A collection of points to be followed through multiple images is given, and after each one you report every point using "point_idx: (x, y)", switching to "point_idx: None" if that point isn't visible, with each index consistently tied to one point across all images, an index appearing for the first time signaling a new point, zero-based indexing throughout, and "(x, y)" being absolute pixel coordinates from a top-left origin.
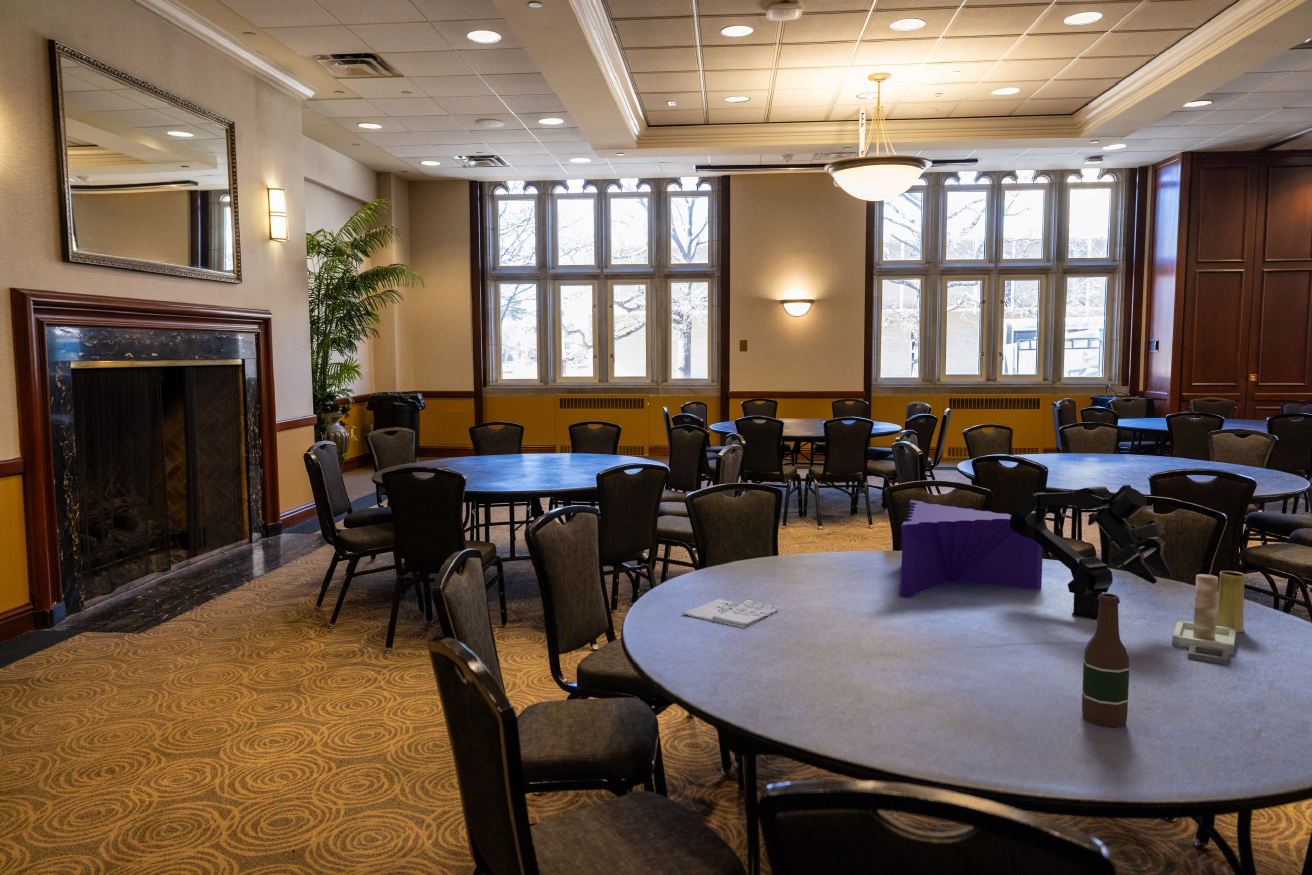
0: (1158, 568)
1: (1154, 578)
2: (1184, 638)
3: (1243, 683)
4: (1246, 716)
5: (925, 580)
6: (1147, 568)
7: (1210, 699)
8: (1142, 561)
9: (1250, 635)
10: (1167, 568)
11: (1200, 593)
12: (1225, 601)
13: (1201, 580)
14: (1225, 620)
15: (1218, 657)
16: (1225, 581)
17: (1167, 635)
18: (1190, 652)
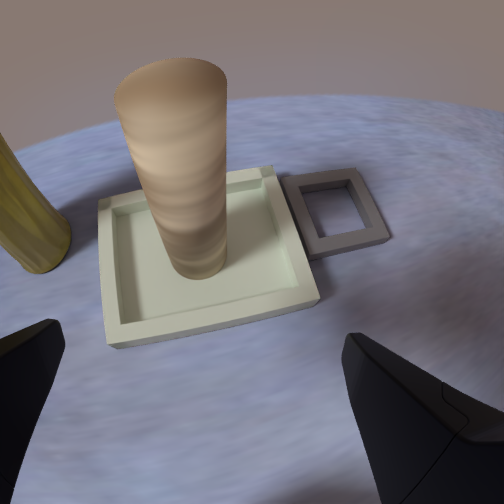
0: (26, 414)
1: (374, 342)
2: (308, 267)
3: (416, 147)
4: (496, 142)
5: None
6: (436, 388)
7: (499, 174)
8: (500, 429)
9: (70, 197)
10: (26, 340)
11: (224, 159)
12: (23, 200)
13: (223, 104)
14: (52, 230)
15: (359, 183)
16: None
17: (219, 351)
18: (380, 233)
